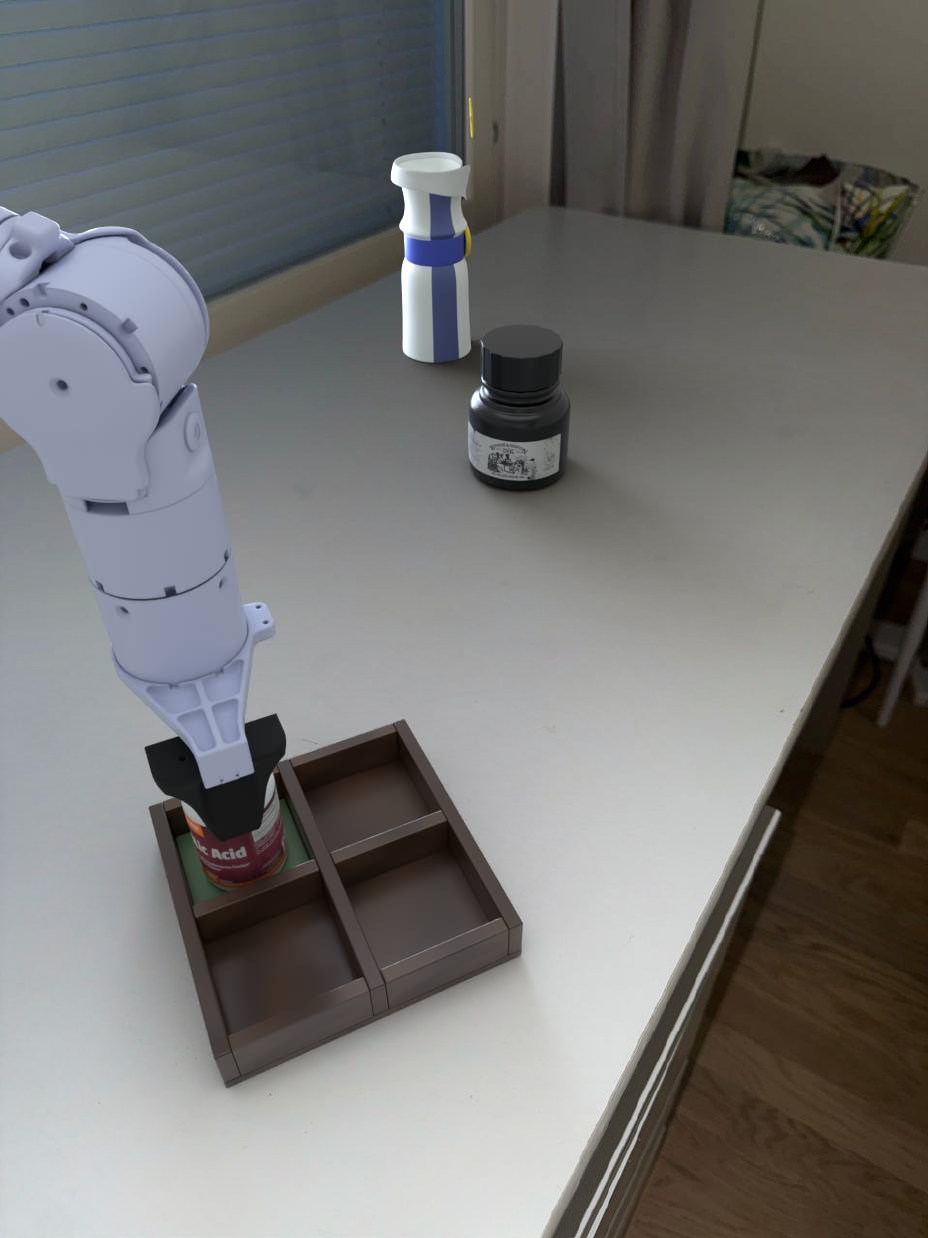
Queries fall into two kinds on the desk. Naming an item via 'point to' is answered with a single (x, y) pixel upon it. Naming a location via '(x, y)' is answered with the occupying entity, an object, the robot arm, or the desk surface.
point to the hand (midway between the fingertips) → (219, 773)
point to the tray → (338, 905)
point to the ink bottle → (519, 409)
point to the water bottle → (434, 255)
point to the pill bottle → (242, 847)
